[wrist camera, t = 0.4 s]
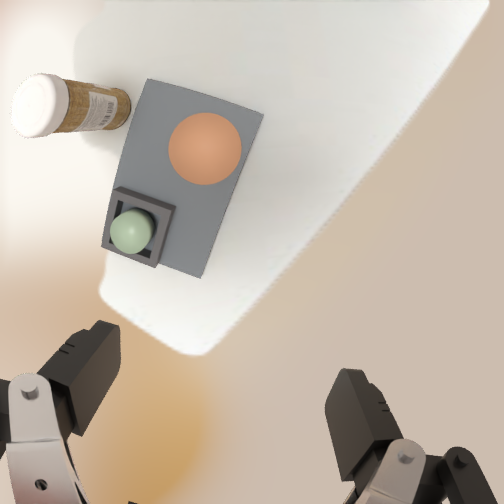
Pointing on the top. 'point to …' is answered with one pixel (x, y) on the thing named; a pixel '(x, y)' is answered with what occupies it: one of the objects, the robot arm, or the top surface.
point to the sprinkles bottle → (66, 106)
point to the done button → (132, 230)
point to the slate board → (180, 172)
